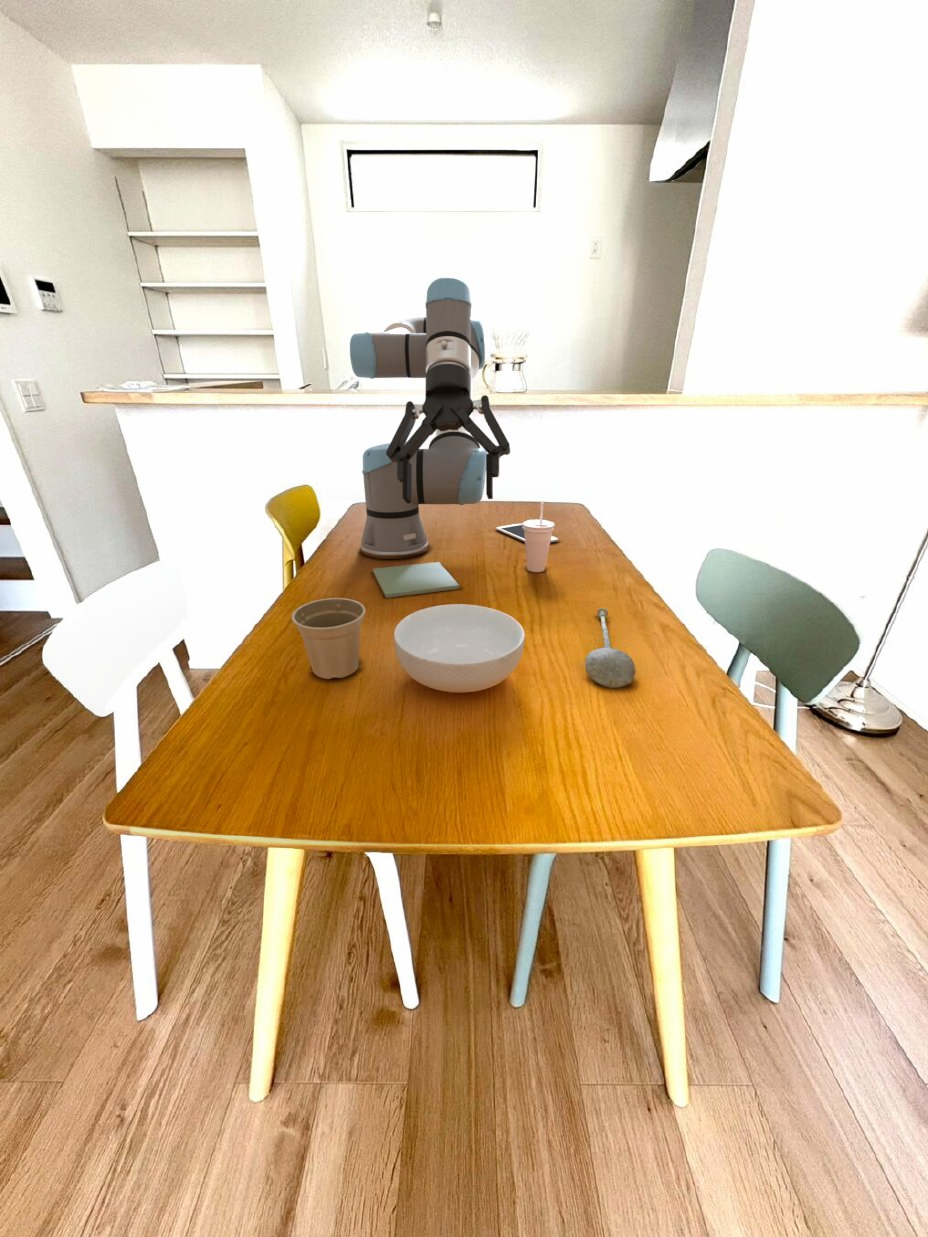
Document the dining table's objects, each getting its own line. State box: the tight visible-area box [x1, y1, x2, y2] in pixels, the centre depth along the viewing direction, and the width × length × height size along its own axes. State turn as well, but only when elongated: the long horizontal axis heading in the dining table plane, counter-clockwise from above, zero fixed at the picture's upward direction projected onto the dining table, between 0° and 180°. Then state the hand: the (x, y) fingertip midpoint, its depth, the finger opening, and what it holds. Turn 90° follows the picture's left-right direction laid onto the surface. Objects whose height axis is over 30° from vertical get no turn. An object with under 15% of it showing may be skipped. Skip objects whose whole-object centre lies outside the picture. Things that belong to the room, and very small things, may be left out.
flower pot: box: [291, 597, 366, 680], centre depth 70 cm, size 9×9×9 cm
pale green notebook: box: [372, 561, 460, 599], centre depth 102 cm, size 14×14×1 cm
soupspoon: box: [584, 607, 636, 689], centre depth 77 cm, size 22×3×7 cm
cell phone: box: [495, 523, 559, 544], centre depth 130 cm, size 8×16×1 cm, turn 30°
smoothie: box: [522, 501, 555, 573], centre depth 105 cm, size 6×6×14 cm
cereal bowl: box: [393, 603, 526, 694], centre depth 69 cm, size 17×17×7 cm
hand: (447, 498), depth 84 cm, fingers open, 13 cm apart
